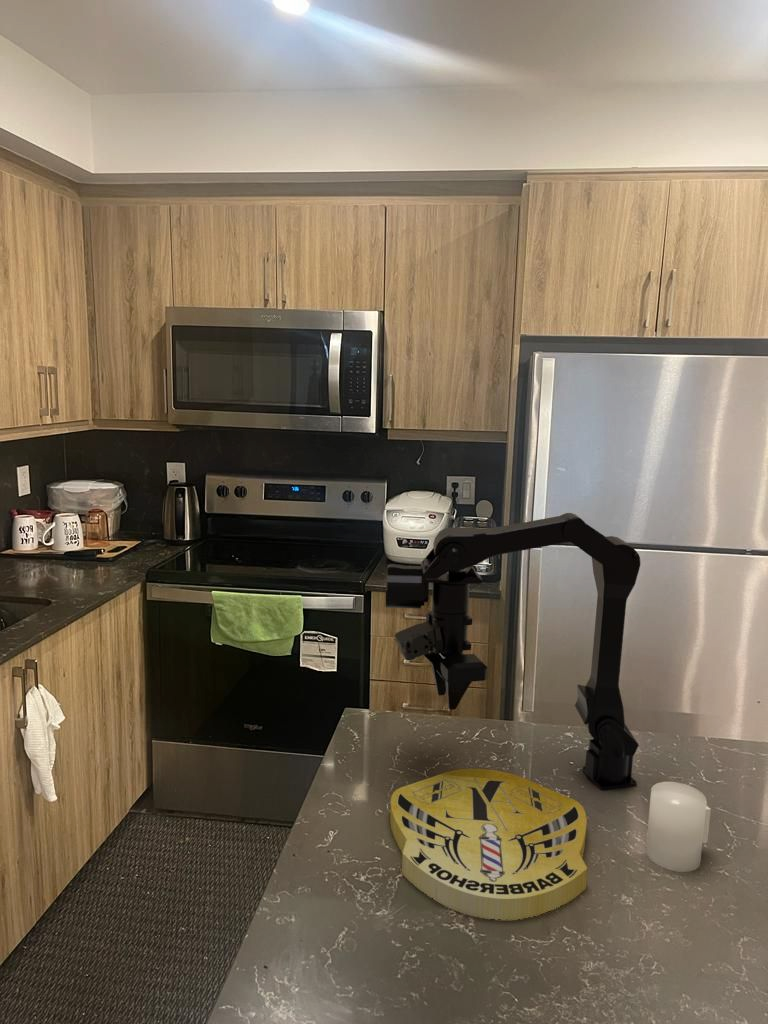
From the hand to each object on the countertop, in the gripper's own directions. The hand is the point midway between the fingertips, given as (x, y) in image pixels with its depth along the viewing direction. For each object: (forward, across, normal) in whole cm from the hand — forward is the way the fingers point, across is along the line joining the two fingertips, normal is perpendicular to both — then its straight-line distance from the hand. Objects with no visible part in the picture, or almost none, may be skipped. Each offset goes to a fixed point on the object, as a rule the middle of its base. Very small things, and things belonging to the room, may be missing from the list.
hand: (446, 701), depth 120 cm
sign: (+13, +19, 0) cm, 23 cm away
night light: (+12, +27, +24) cm, 38 cm away
